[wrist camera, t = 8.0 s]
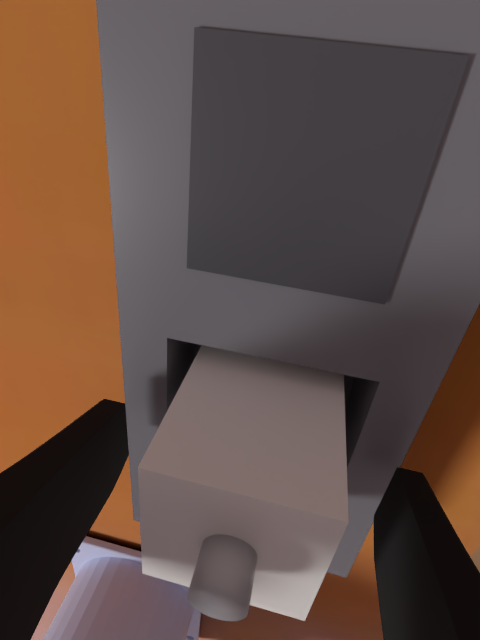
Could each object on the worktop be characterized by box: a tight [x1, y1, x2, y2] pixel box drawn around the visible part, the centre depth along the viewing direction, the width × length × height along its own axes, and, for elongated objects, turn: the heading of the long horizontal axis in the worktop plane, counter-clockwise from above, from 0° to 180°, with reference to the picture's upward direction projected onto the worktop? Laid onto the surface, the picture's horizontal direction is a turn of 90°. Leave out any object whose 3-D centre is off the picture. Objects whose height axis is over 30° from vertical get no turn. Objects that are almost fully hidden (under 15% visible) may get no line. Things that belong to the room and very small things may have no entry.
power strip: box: [96, 0, 480, 578], centre depth 10 cm, size 20×8×4 cm, turn 174°
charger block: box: [138, 345, 349, 621], centre depth 10 cm, size 4×4×7 cm
